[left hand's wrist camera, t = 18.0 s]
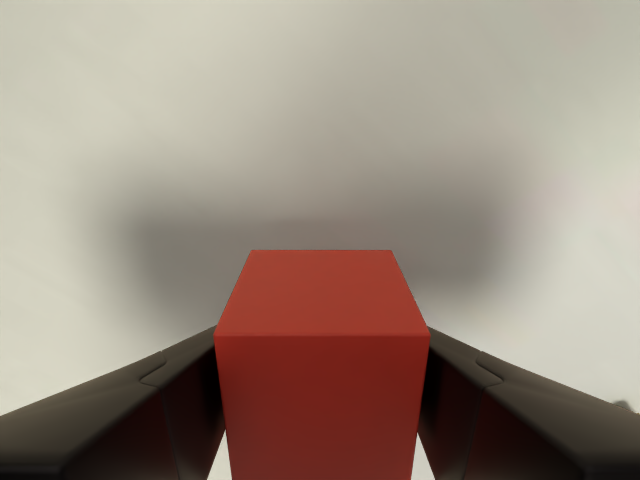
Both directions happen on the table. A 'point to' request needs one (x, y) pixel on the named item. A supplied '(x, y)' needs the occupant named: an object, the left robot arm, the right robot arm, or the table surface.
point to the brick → (321, 367)
